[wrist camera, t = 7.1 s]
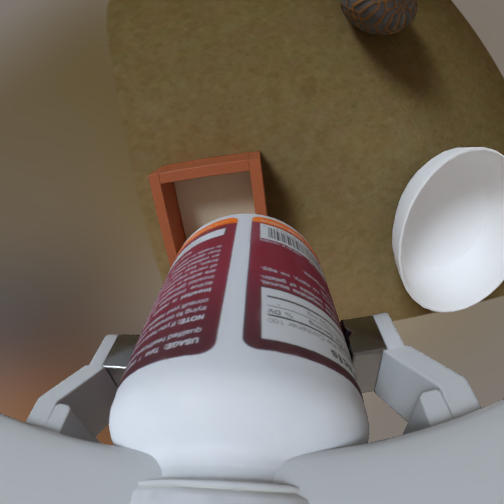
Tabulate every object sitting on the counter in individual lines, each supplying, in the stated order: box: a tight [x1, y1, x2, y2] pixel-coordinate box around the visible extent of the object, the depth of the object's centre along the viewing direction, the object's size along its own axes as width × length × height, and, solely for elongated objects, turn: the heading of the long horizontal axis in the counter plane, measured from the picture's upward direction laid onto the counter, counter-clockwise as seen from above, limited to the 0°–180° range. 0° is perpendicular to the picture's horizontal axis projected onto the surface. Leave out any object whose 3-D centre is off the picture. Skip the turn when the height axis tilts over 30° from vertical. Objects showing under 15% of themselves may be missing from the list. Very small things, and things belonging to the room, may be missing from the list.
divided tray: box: [149, 151, 268, 267], centre depth 32 cm, size 10×19×5 cm, turn 7°
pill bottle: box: [109, 214, 369, 504], centre depth 8 cm, size 6×6×11 cm
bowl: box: [392, 147, 504, 313], centre depth 28 cm, size 18×18×7 cm
